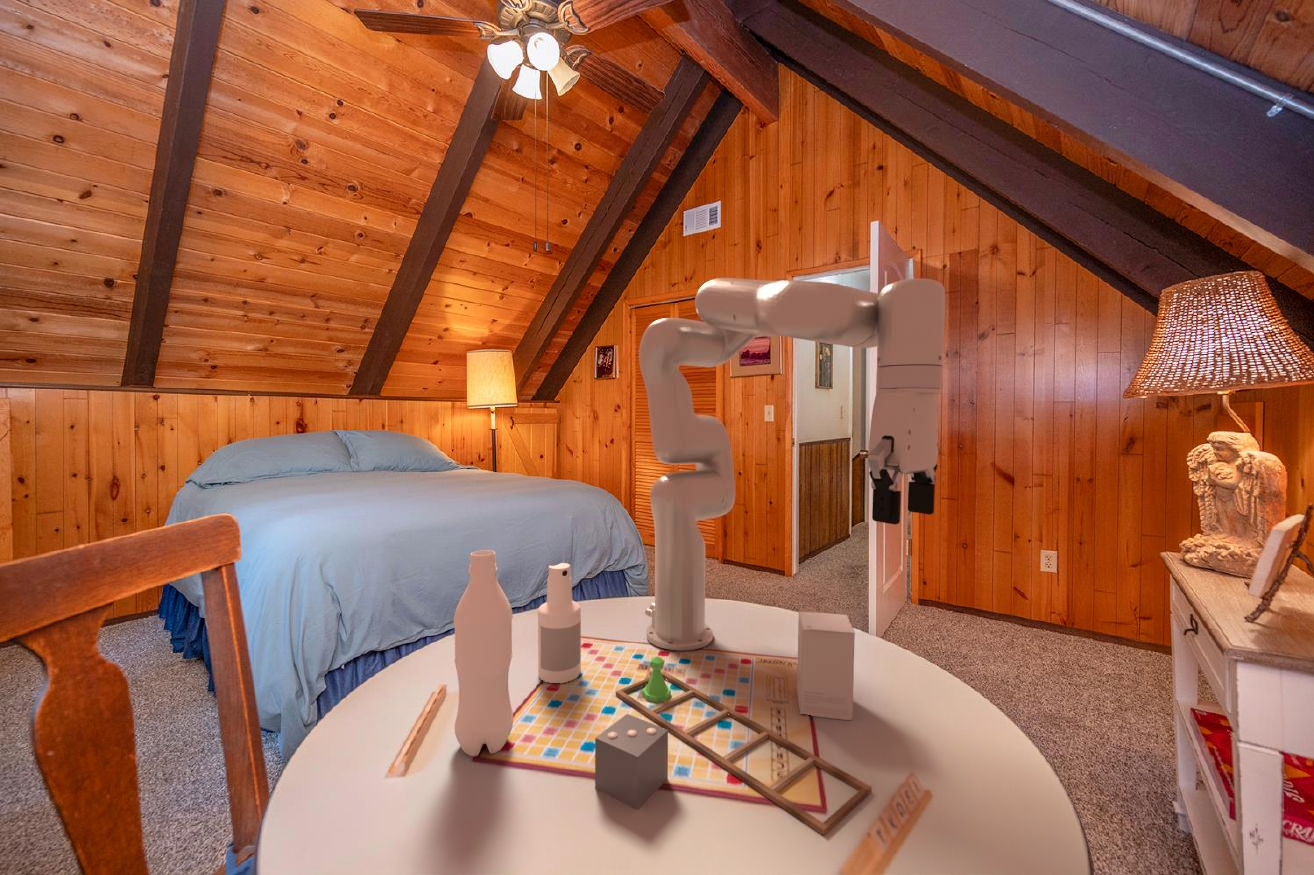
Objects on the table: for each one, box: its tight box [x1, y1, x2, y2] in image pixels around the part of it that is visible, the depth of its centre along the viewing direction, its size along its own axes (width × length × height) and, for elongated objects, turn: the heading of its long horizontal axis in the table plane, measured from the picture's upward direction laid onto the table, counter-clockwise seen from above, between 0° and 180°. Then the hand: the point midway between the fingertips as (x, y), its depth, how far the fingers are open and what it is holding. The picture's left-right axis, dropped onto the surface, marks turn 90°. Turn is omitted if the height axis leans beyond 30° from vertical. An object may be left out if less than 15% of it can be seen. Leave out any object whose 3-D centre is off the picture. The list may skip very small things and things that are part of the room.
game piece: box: [641, 656, 672, 703], centre depth 82 cm, size 4×4×6 cm
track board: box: [615, 671, 873, 837], centre depth 72 cm, size 36×10×1 cm, turn 41°
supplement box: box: [796, 611, 856, 721], centre depth 80 cm, size 7×7×13 cm
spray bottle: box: [537, 562, 582, 684], centre depth 88 cm, size 7×7×18 cm
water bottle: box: [453, 549, 514, 757], centre depth 69 cm, size 7×7×25 cm
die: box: [594, 713, 669, 811], centre depth 63 cm, size 6×6×6 cm
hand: (903, 517), depth 69 cm, fingers open, 9 cm apart
